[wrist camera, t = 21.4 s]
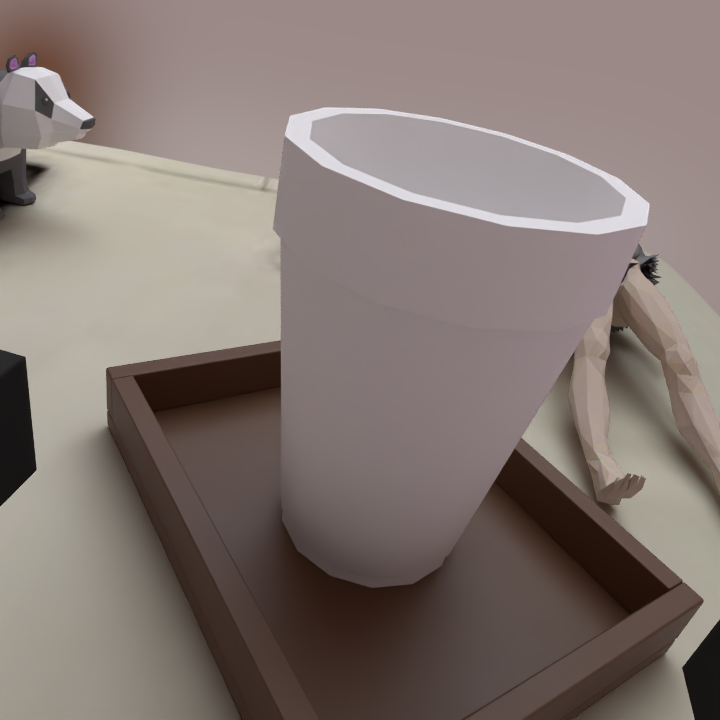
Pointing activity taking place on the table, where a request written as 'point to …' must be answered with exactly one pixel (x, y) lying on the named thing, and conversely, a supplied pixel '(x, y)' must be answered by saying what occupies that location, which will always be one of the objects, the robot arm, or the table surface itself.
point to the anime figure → (687, 393)
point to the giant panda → (32, 121)
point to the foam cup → (425, 322)
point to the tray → (393, 603)
